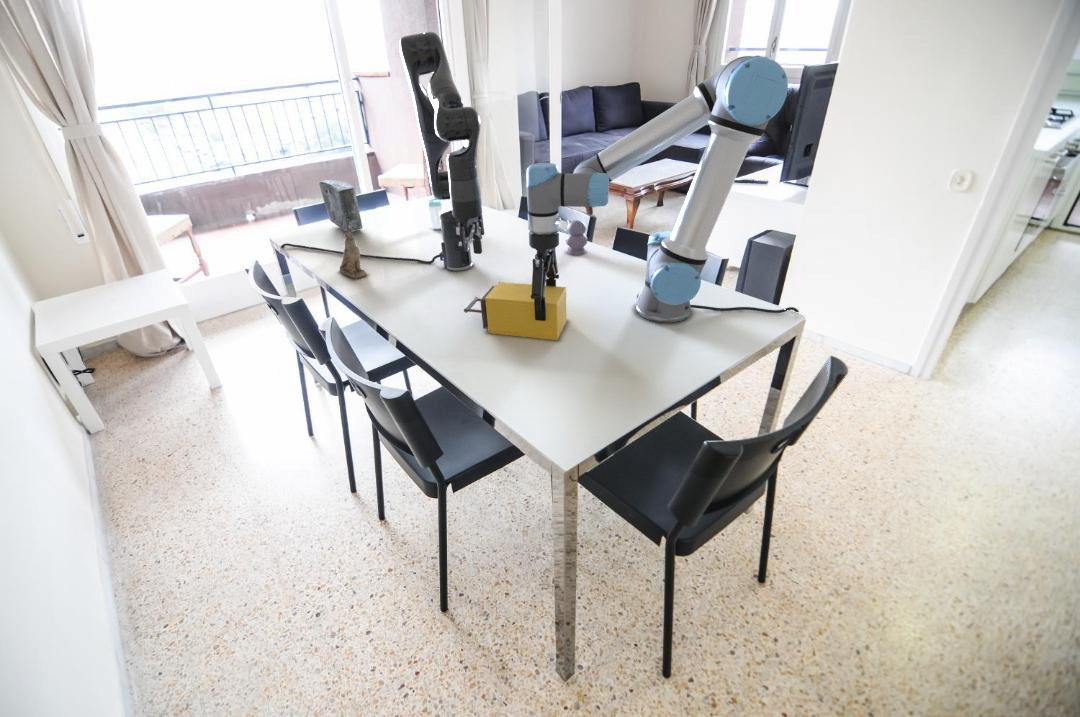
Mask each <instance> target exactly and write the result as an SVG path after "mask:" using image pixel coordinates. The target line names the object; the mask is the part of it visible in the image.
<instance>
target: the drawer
mask: <svg viewBox="0 0 1080 717" xmlns="http://www.w3.org/2000/svg"><path fill="white" fill-rule="evenodd" d="M495 286H496V285H492V286H491V287H490V288H489V289H488V290H487V291H486V293H485V294H484V295H482V297H481V298H479V297H477V296H475V297H474V298H472V300H471V301H470V302H469V303H468V304H467V306H465V308H464V309H463V312H464V313H466V314H467V313H478V314H481V318H482V319H481V320H482V329H483V330H488V322H487V312H486V302H485V298H486V296H487V295H488V294H489V293H490V292H491V291H492V289H493V288H494V287H495ZM478 302H480V309H476V308H475V309H474V308H473V307H474V306H475V305H476V303H478Z"/></svg>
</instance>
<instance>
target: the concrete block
mask: <svg viewBox="0 0 1080 717" xmlns="http://www.w3.org/2000/svg"><path fill="white" fill-rule="evenodd" d="M318 185H319V187H320V192H321V195H322V199H323V202H324V206H325V209H326V214H327V217H328V219H329V221H330V222H331V223H333V224H334V225H336V226H337V228H339V229H341V231H344V233H345V232H346V231H348V230H350V231H352V233H353V232H355V231H360V230H362V229H363V222H362V219H361V218H362V217H361V213H360V209H359V205H358V198H357V193H356V190H355V187H354V185H352V184H350V183H349V182H346V181H344V180H340V179H337V178H335V179H334V178H333V179H325V180H322V181H319V184H318Z"/></svg>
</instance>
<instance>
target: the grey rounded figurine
mask: <svg viewBox="0 0 1080 717" xmlns="http://www.w3.org/2000/svg"><path fill="white" fill-rule="evenodd" d="M566 221H567V227H566V228H567V229H566V230H567V233H568V234H567V235H566V237H565V243H566V245H567V246H568V247H567V253H568V254H569V255H573V256H578V255H582V254H584V253H585V247H586V245H587V243H588V237H587V235H586V234H585V233H586V230H587V226H586V224H585V223H584V222H583V221H582V220H578V219H574V220H569V219H566Z"/></svg>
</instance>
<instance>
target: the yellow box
mask: <svg viewBox="0 0 1080 717" xmlns="http://www.w3.org/2000/svg"><path fill="white" fill-rule="evenodd" d="M494 286H495V287H494V288H493V289H492V291H491V292H490V293H489V294H488V295H487V296H486V298H485V302H486V312H487V322H488V329H487V331H488V334H493V335H502V336H512V337H520V338H521V337H522V338H531V339H543V340H553V341H558V340H559V338H560V336H561V333H562V332H563V330H564V327H565V325H566V323H567V287H566V286H557V285H556V286H546V285H545V291H544V297H545V308H546V320H545V321H540V320H535V305H534V299H532V298H531V295H532V284H528V283H515V282H503V281H499V282H497V284H496V285H494Z"/></svg>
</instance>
